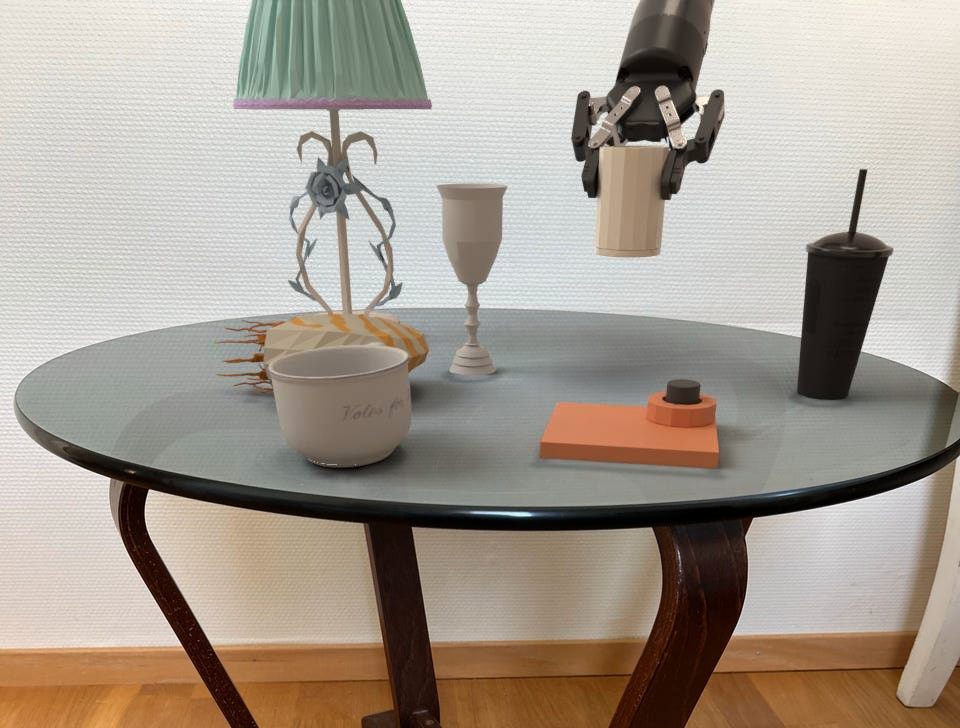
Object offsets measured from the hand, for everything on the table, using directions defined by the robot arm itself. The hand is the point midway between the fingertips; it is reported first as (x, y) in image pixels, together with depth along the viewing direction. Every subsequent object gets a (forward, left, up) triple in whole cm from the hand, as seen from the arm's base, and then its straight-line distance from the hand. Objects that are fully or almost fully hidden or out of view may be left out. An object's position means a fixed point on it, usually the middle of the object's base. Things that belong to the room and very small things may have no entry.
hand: (627, 192), depth 85 cm
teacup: (+20, +23, -18) cm, 35 cm away
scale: (-2, +16, -18) cm, 24 cm away
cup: (0, -2, -5) cm, 6 cm away
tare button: (-6, +13, -15) cm, 21 cm away
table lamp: (+34, -19, -18) cm, 42 cm away
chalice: (+16, -6, -18) cm, 25 cm away
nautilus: (+29, +6, -18) cm, 34 cm away
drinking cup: (-20, -3, -18) cm, 27 cm away
